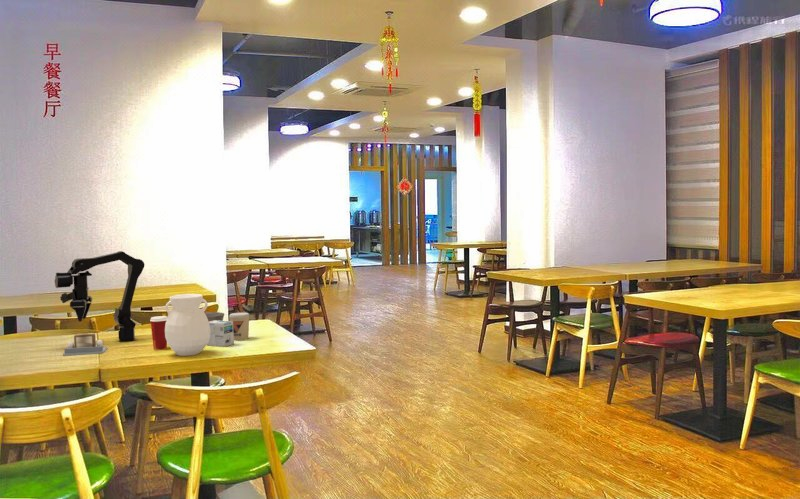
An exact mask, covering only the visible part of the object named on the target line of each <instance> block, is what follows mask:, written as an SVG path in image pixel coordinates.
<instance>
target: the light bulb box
mask: <svg viewBox="0 0 800 499" xmlns="http://www.w3.org/2000/svg"><path fill="white" fill-rule="evenodd" d="M209 325H210V339H209V342H208V344H207V345H206V346H209V347H210V346H214V347H223V348H224V347H228V346H232V345H234V344H235V340H234V333H233V321H230V320H223V321H217V320H214V321H209Z"/></svg>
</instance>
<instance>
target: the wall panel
mask: <svg viewBox="0 0 800 499" xmlns="http://www.w3.org/2000/svg"><path fill="white" fill-rule="evenodd" d="M95 341H96V347H82V348H75V347H74V341H68V342H67V348H64V350H63V351H64V352H63V353H62V356H63V357H65V356H66V357H69V356H81V355H83V356H84V355H98V354H99V355H100V354H104V353H105V352H106V351H107V349H108V346H103V345H104V344H103V340H102V339H98V340H95Z"/></svg>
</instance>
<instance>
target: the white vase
mask: <svg viewBox="0 0 800 499" xmlns="http://www.w3.org/2000/svg"><path fill="white" fill-rule="evenodd" d="M202 303H204V306H203V307H202V308H200V306H201V304H202ZM169 305H171V307H172V309H171V310H170V309H169ZM208 305H209V304H208V302H207V300H206V299H204V297H203V294H199V293H182V294H181V293H179V294H174V295H170V296H169V300H168V302H166V304H165V306H164V307H165V309H164V310H165V311H166V312H167V321H166V324H165V338H166V341H167V346H168V347H170V349H171V350H172V351H173V352H174V353H175V355H177V356H182V357H185V356H186V357H187V356H195V355H199V354H200V353H201V352H202V351H203V350H204V349H205V348H206V346H208V345H207V344H208V342H209V339H210V325H209V321H208V319H207V316H206V315H205V313H204V312H206V310H207V309H208Z"/></svg>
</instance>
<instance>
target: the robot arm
mask: <svg viewBox="0 0 800 499" xmlns="http://www.w3.org/2000/svg"><path fill="white" fill-rule="evenodd" d="M117 261H121V262H122V263H123V264H125V265H127V279H126V283H125V287H124V290H123V295H122V299H121V303H120V306H119V307H115V308H114V314H113V315H112V316H113V321H114V323H116V324H117V325H118V327H119V330H118V334H117V335H118V340H119V342H133V341H135V340H136V334H135V331H136V330H135V328H136V325H137V323H136V322H135V321H134V320H132V319H131V318H132V311H131V310H132V309H131V306H132V302H133V298H134V294H135V291H136V287H137V282H138V280H139V277H140V276H141V274H142V273H143V270H144V268H145V262H144V261H143V260H142V259H140V258H135V257H133V256H131V255H130V254H127V253H126V252H125V251H122V250H121V251H120V250H119V251H116V252H113V253H109V254H103V255H99V256H95V257H86V258H85V257H84V258H83V257H82V258H81V257H80V258H75V259H73V260H72V262H71V266H70V268H69V269H68V271H67V272H56V273H55V276H54V286H55V288H56V289H59V288H60V289H61V288H70V287H71V286H72V285H73V289H72V290H71V292H68V293H67V292H64V293H62V294H61V296H60V298H59V299H60V301H61V302H62V303H63V304H65V303H67V302H69V307H70V308H71V309H72V310H74V311H75V314H76V317H77V320H78V322H82V320H83V319H86V318H87V316H88V313H89V311H90V308H91V305H92V302H93V296H91V295H89V289H90V288H89V287H88V285H89V284H88V277H90V276H92V275H93V274H92V273H91V272H90V271H89V270H91V269H92V268H94V267H96V266H101V265H104V264H108V263H113V262H117Z"/></svg>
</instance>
